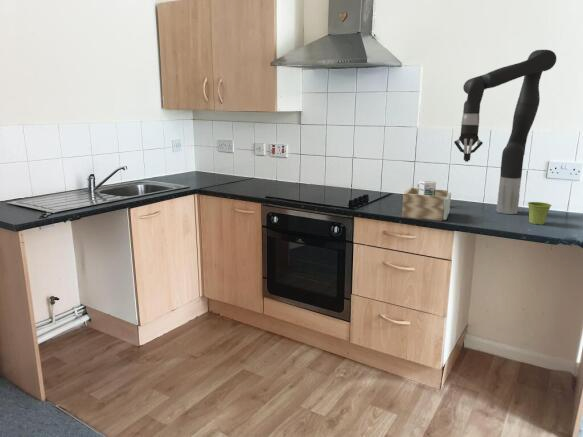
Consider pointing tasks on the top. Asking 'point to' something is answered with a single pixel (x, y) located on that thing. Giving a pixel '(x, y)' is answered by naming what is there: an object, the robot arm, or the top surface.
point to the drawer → (446, 206)
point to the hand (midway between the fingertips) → (466, 161)
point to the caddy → (423, 205)
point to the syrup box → (427, 188)
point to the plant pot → (538, 212)
